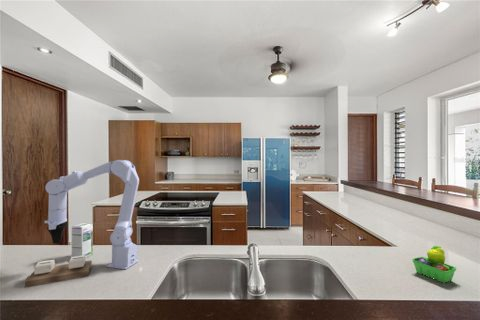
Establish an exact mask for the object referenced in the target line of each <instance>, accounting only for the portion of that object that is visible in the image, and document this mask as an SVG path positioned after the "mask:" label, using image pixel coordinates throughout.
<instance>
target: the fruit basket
mask: <svg viewBox="0 0 480 320" xmlns="http://www.w3.org/2000/svg"><path fill="white" fill-rule="evenodd" d="M426 254H427V255H426V257H425V256H420V257H419V256H418V257H415V258H412V259H411V260H412V263H413V265H414V267H415V268H414V269H415V271H416V273H417V272H418V273H417V274H419V273H420V274H419V275H422V274H423V275H422V276H424V275H426V276H429V277H431V278H434V279H437V280H439V281H441V282H444V283H443V284H446V283H445V282H447V283H449V282H451V281H450V280H452V281H453V277H454V275H455V272H456V271H457V267H456V266H453V265H450V264H448V263H447V264H446V263H445V262H446V256H445V251H444V249H443V248H442V247H441V246H438V245H433V246H432V247H431V248H430V249H429V250H428V251H427V252H426ZM426 276H425V277H426ZM429 277H428V278H429ZM431 278H430V279H431ZM434 279H433V280H434ZM437 280H436V281H437ZM439 281H438V282H439ZM448 281H449V282H448ZM441 282H440V283H441Z"/></svg>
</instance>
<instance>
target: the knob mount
mask: <svg viewBox="0 0 480 320" xmlns="http://www.w3.org/2000/svg"><path fill="white" fill-rule="evenodd" d="M92 265H93V263H92V260H86V262H85V264H84V266H83V267H77V268H71V269H69V263H65V264H60V265H59V264H58V265H55V267H54V268H53V269H52V271H51V272H47V273H41V274H35V275H34V271H32V272H31V273H30V275H29V276H28V278H26V280H25V281H24V288H29V287H35V286H40V285H46V284H51V283H55V282H62V281H68V280H71V279H72V280H73V279H79V278H83V277H88V276H89V274H90V270H91V268H92Z"/></svg>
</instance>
